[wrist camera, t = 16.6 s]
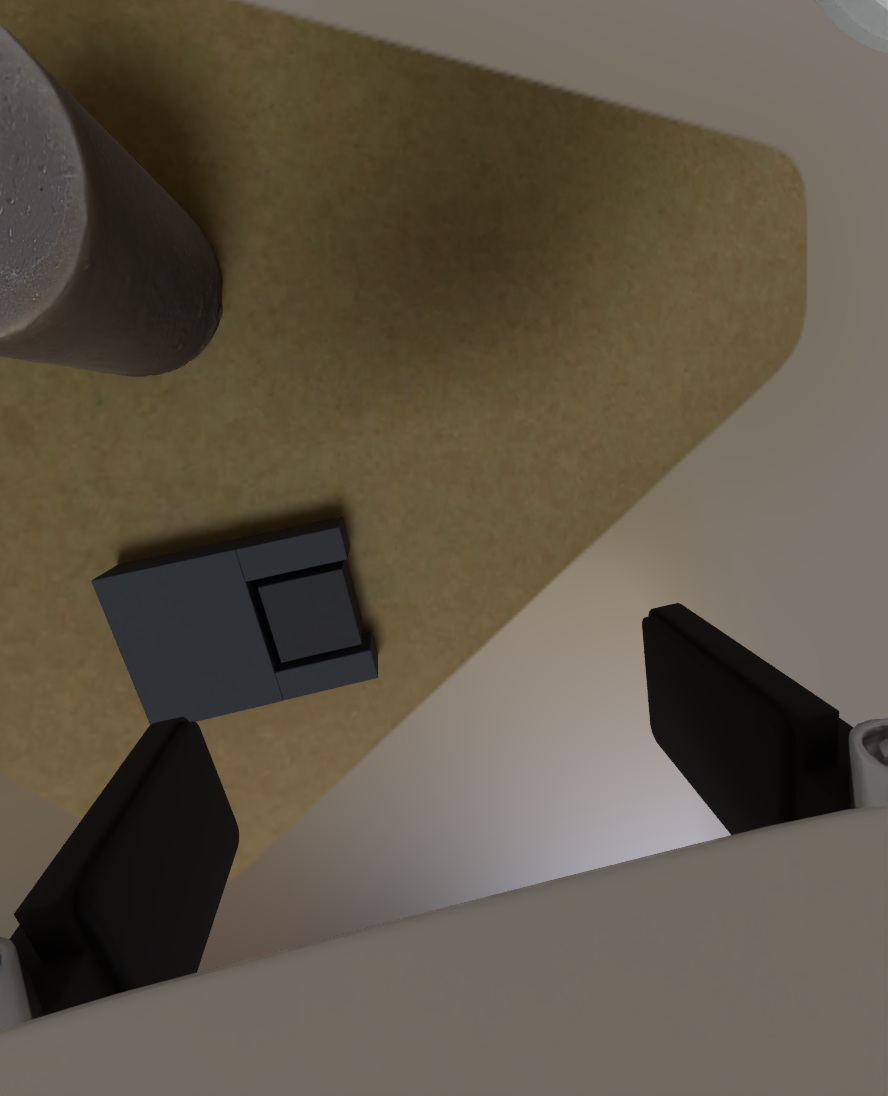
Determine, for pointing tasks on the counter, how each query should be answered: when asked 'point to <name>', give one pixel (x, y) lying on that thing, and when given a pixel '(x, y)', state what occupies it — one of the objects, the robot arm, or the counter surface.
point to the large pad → (222, 625)
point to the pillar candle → (91, 240)
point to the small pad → (312, 610)
